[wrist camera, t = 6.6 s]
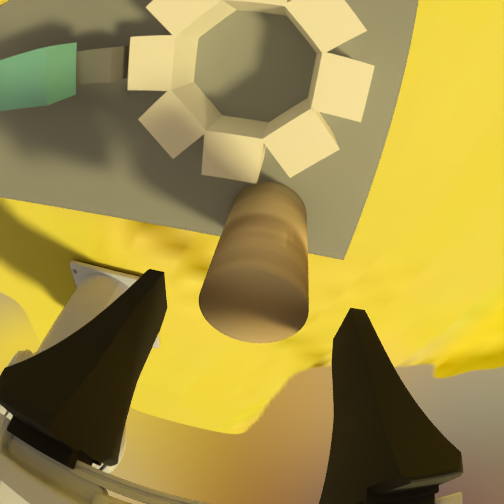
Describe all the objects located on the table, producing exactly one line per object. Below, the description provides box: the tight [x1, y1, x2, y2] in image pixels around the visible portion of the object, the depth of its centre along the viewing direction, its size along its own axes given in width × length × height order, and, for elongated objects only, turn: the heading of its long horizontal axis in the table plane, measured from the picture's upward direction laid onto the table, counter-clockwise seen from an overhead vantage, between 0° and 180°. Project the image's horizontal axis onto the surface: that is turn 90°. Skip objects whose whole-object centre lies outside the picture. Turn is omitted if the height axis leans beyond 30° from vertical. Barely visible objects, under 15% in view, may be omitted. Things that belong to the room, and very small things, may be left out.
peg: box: [199, 182, 309, 343], centre depth 14 cm, size 4×4×7 cm
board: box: [0, 0, 418, 260], centre depth 13 cm, size 16×30×4 cm, turn 82°
